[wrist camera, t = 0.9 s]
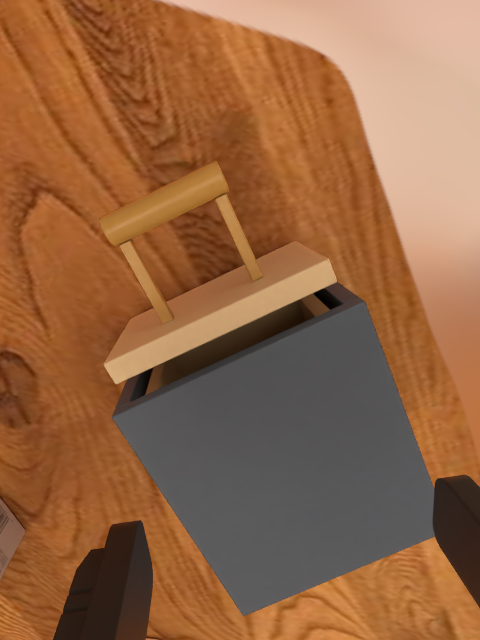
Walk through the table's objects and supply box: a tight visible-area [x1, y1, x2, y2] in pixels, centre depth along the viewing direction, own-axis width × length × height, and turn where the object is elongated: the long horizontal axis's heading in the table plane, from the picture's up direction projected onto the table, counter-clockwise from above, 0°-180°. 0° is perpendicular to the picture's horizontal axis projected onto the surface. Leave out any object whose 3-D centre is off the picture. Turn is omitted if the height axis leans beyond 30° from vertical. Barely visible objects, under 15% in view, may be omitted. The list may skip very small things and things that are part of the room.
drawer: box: [99, 161, 337, 395], centre depth 23 cm, size 19×11×7 cm, turn 25°
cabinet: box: [112, 282, 435, 616], centre depth 24 cm, size 15×13×9 cm
